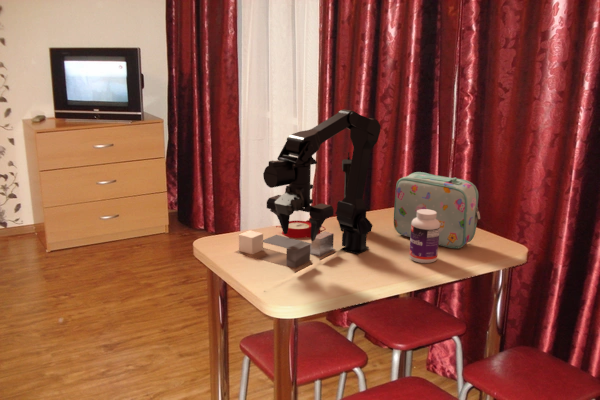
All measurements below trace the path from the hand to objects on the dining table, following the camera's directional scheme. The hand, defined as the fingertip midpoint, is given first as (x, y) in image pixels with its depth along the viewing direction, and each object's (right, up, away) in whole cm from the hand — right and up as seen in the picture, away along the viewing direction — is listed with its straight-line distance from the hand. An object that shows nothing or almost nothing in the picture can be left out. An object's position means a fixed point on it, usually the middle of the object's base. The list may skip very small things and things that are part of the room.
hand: (299, 237), depth 173 cm
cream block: (-14, -5, +11) cm, 19 cm away
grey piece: (-1, -4, +17) cm, 17 cm away
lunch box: (+43, -3, +26) cm, 50 cm away
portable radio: (+17, +1, +37) cm, 40 cm away
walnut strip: (-8, -7, +7) cm, 13 cm away
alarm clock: (+1, -2, +29) cm, 29 cm away
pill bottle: (+36, -7, +10) cm, 38 cm away
